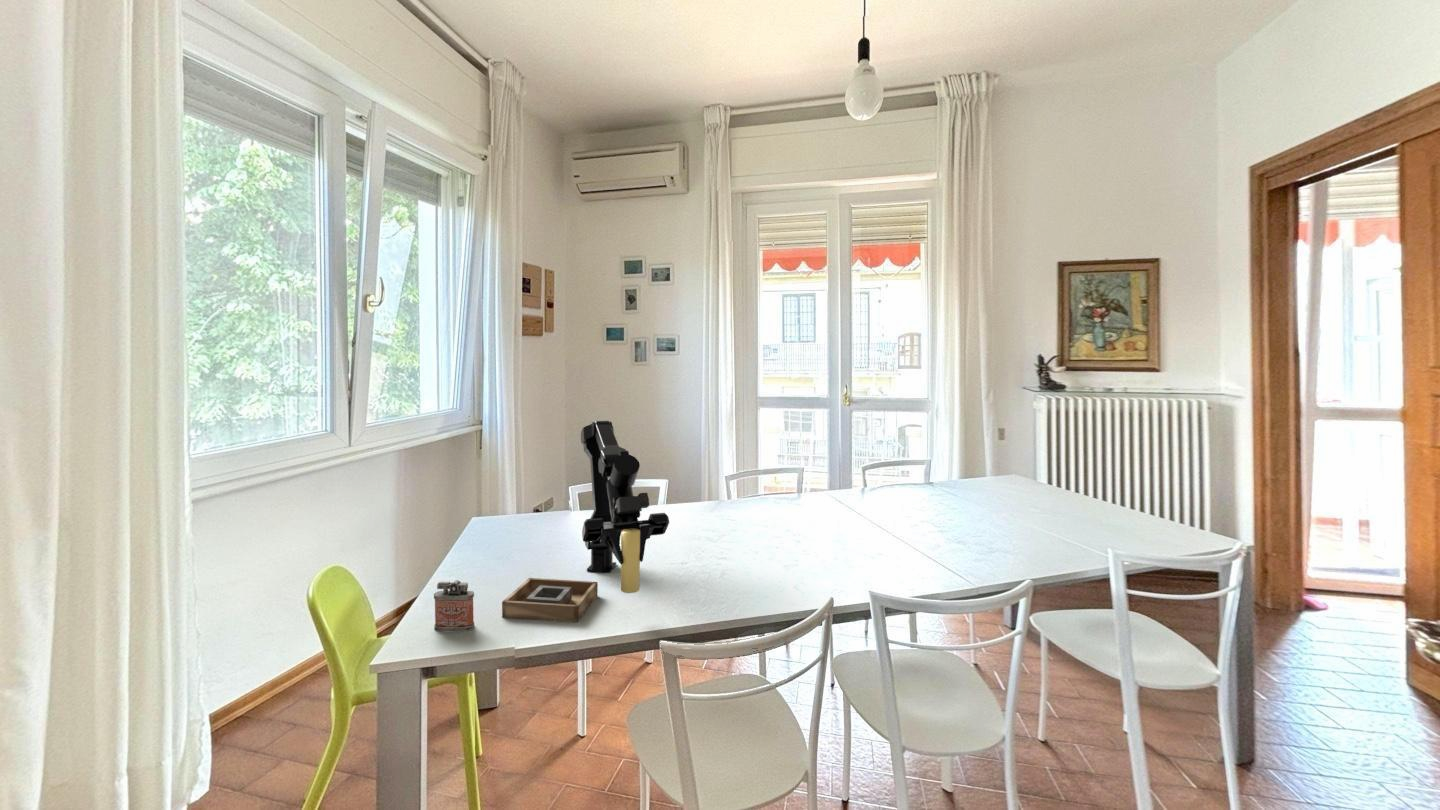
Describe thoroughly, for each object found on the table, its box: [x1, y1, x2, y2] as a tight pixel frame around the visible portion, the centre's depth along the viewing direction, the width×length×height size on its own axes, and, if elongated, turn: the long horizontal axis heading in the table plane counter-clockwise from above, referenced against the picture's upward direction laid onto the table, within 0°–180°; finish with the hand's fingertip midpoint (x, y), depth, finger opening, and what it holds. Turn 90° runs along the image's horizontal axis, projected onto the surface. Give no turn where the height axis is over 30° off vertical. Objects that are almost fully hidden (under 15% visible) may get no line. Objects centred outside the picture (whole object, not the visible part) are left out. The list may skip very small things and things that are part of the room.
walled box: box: [501, 577, 599, 623], centre depth 133 cm, size 14×17×4 cm
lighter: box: [433, 579, 475, 632], centre depth 121 cm, size 8×3×10 cm, turn 92°
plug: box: [620, 528, 641, 594], centre depth 126 cm, size 4×4×13 cm
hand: (631, 562), depth 125 cm, fingers closed on plug, 4 cm apart
